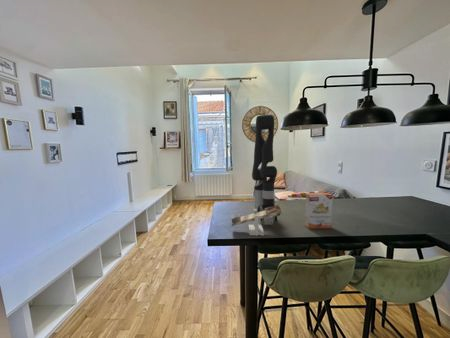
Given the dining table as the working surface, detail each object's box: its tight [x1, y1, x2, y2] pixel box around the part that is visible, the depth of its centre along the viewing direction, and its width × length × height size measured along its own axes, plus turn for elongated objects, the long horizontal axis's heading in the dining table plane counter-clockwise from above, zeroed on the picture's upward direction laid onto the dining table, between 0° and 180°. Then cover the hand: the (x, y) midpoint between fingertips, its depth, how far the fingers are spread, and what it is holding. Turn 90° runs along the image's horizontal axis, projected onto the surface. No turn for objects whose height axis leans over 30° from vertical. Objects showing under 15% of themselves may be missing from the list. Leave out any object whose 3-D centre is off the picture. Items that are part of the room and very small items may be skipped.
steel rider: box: [263, 215, 274, 226], centre depth 140 cm, size 5×5×5 cm
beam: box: [230, 204, 282, 227], centre depth 127 cm, size 29×9×4 cm, turn 86°
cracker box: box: [304, 192, 334, 230], centre depth 130 cm, size 14×6×21 cm, turn 91°
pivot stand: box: [248, 208, 265, 237], centre depth 127 cm, size 8×13×12 cm, turn 176°
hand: (268, 221), depth 140 cm, fingers open, 8 cm apart
